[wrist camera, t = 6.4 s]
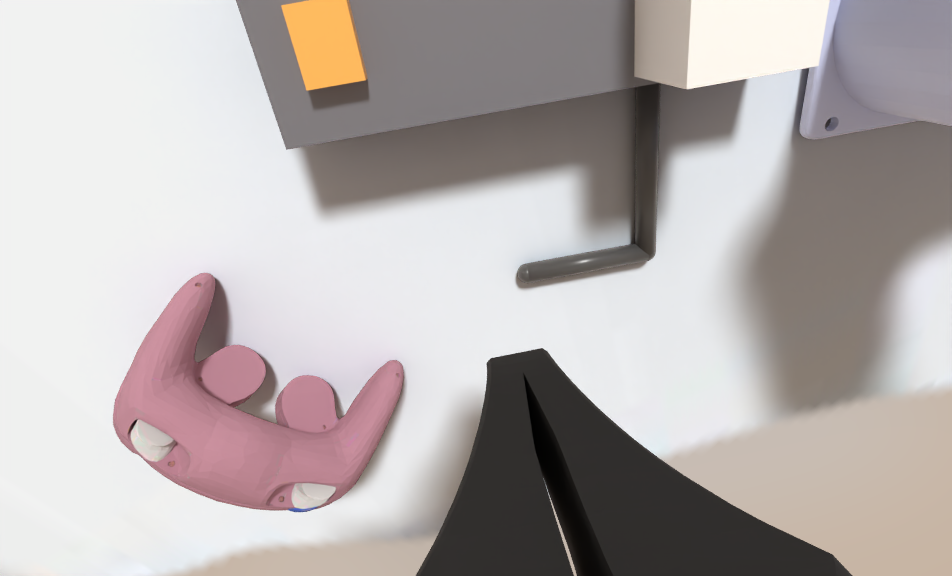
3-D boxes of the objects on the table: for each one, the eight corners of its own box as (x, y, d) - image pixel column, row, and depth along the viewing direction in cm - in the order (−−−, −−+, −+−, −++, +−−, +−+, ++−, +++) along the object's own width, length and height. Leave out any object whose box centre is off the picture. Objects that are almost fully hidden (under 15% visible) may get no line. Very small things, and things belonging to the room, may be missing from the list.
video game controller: (178, 307, 22) (70, 464, 17) (193, 254, 18) (65, 430, 14) (377, 393, 25) (330, 542, 21) (419, 361, 22) (374, 529, 17)
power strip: (774, -131, 15) (986, -222, 9) (732, 239, 21) (846, 317, 15) (255, -41, 15) (155, -80, 9) (363, 307, 21) (343, 412, 15)
